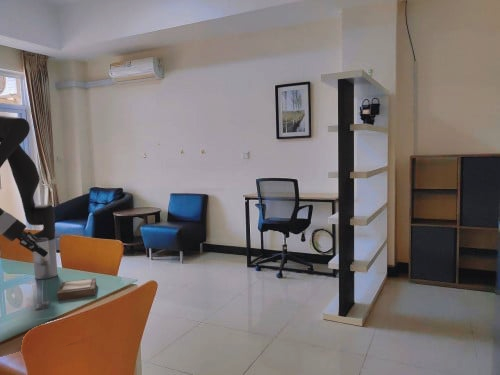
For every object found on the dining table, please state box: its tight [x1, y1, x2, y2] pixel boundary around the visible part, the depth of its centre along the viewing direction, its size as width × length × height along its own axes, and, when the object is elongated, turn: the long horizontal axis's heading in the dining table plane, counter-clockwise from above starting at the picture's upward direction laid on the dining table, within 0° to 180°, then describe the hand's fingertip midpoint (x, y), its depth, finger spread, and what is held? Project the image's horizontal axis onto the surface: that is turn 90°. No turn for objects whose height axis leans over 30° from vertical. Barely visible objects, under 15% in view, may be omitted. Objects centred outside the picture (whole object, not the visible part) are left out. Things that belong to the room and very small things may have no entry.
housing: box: [33, 238, 50, 266], centre depth 147 cm, size 5×5×10 cm
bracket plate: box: [34, 300, 51, 311], centre depth 139 cm, size 6×4×1 cm, turn 22°
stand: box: [56, 278, 97, 302], centre depth 152 cm, size 13×13×3 cm
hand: (46, 253), depth 148 cm, fingers closed on housing, 5 cm apart
